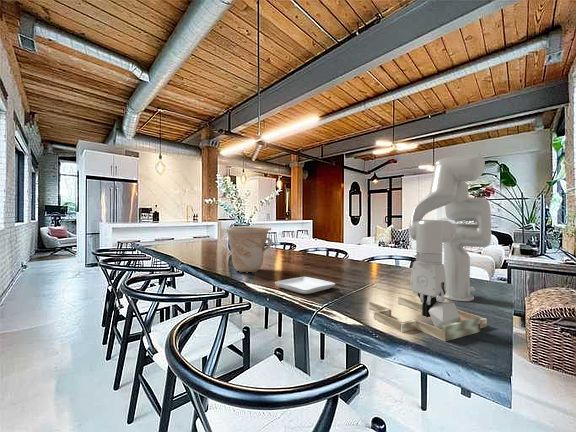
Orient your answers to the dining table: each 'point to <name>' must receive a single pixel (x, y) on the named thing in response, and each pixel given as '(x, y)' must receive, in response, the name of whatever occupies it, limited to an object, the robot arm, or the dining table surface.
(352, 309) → the dining table surface
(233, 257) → the vessel
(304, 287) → the salad plate
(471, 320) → the channel
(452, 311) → the die
